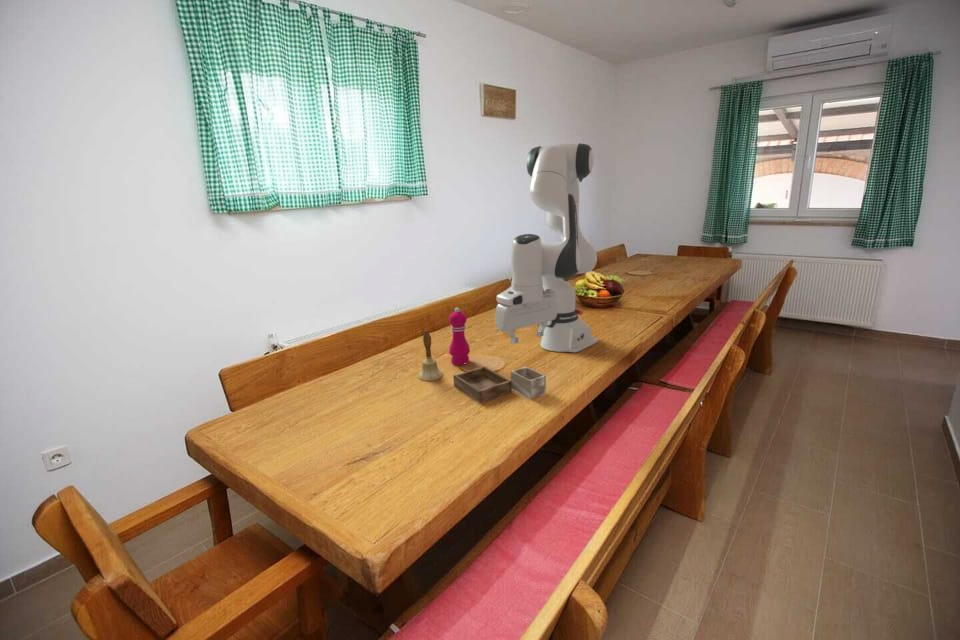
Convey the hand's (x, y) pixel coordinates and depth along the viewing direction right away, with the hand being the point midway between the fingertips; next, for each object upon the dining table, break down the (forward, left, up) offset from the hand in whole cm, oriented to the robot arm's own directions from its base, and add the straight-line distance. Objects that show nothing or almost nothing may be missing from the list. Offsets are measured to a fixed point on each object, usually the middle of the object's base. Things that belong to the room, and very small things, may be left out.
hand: (527, 339), depth 135 cm
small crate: (0, 0, -17) cm, 17 cm away
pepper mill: (+4, -33, -17) cm, 37 cm away
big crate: (+10, -10, -17) cm, 22 cm away
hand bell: (+18, -29, -17) cm, 38 cm away
